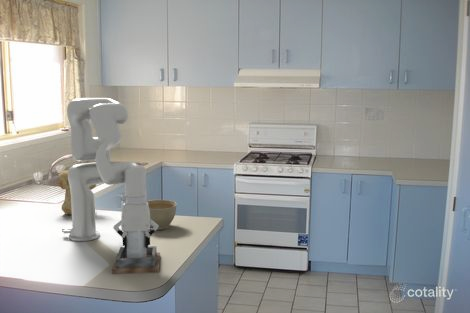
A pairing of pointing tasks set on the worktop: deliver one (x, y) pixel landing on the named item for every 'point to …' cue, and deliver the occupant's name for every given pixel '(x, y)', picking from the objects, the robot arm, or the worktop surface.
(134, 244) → the skincare box
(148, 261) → the socket stand
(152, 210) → the planter bowl
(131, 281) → the worktop surface
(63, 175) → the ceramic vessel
